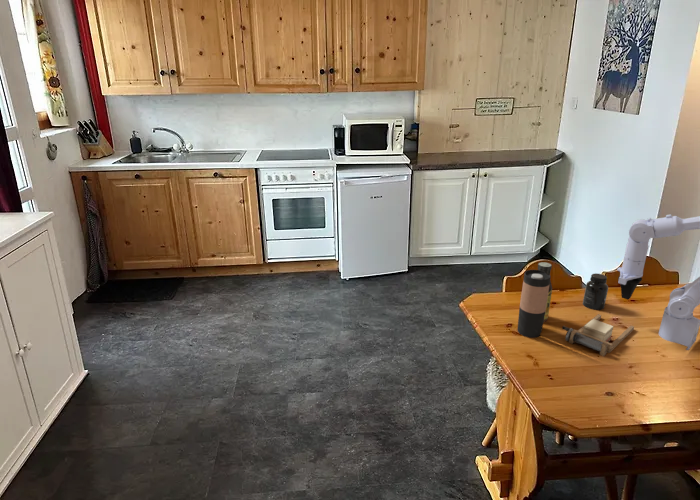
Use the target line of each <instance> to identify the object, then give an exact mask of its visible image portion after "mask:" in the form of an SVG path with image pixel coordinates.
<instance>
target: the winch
mask: <svg viewBox="0 0 700 500" xmlns="http://www.w3.org/2000/svg"><path fill="white" fill-rule="evenodd" d="M561 329H562V330H563V331H566V335H565V341H567V342H568V343H569V344H571V345H573V344H574V343H577V344H580V345H582V346H584V347H587V348H590V349H592V350H595V351H597V352H599V356H602V357H605V356H606V355H607V348H608V344H607V343H605V342H604V343H603V342H600V341H598V340H595V339H592V338H590V337H587V336H585V335H582V334H579V333H577V332H576V331H574V330H575V329H574V328H572V327H567V326H565V325H563V326H562V328H561Z"/></svg>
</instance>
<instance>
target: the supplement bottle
mask: <svg viewBox="0 0 700 500" xmlns="http://www.w3.org/2000/svg"><path fill="white" fill-rule="evenodd" d="M607 279H608V276H606V275H605V274H602V273H596V272H595V273H592V274H591V275H590V279H589V281H587V282H586V285H585V289H584V290H585V291H584V295H583V299H582V305H583V306H584V307H585V308H586V309H589V310H593V311H602V310H604V309H605V306H606V301H607V295H608V291H609V286H608V284H607Z"/></svg>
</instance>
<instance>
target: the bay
mask: <svg viewBox="0 0 700 500" xmlns="http://www.w3.org/2000/svg"><path fill="white" fill-rule="evenodd" d="M592 319H595V320H598V321H600V320H601V319H602V314H600V313H598V314H597V315H595V316H594V317H593V318H592ZM592 319H590V320H589V321H588V322H587V323H589V322H590V321H591V320H592ZM587 323H585V324H584V325H582V327H580V328H579V329H578V330H577V329H573V330H574V331H576V332H577V333H579V334H582V335H585V336H587V337H590V338H592V339H595V340H598V341H600V342H603V343H604V342H605V343H607V344H608V348H607V352H606V354H607V353H608V354H610V353H611V352H612V351H613V350H614V349H616V347H617V346H619V345H620V343H622V341H624V340H625V339H626V338H627V337H629V335H630V334H631V333H632V332H633V331H634V329H635V326H634V325H630V326H628V327H627V328H626V329H625V330H624V331H623V332H622V333H621V334H620V335H618V337H617V338H616V339H614V341H613V342H610V341H609V342H606V341H603V340H601V339H598V338H595V337H593V336H590V335H588V334H585V333H583V331H584V326H585V325H586V324H587Z"/></svg>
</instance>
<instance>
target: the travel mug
mask: <svg viewBox="0 0 700 500" xmlns="http://www.w3.org/2000/svg"><path fill="white" fill-rule="evenodd" d="M551 277H552V276H551V274H550V275H547V274H546V273H545V272H544V271H541V270H538V269H528V270H526V271H525V272H524V274H523V280H522V281H523V282H522V289H521V293H520V303H519V312H518V319H517V320H518V321H517V332H518V333H519V334H520V335H521V336H524V337H525V338H530V339H531V338H533V339H534V338H539V337H540V336H541V334H542V331H543V326H544V323H545V322H544V317H545V312H546V305H547V298H548V291H549V285H550V281H551Z"/></svg>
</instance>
